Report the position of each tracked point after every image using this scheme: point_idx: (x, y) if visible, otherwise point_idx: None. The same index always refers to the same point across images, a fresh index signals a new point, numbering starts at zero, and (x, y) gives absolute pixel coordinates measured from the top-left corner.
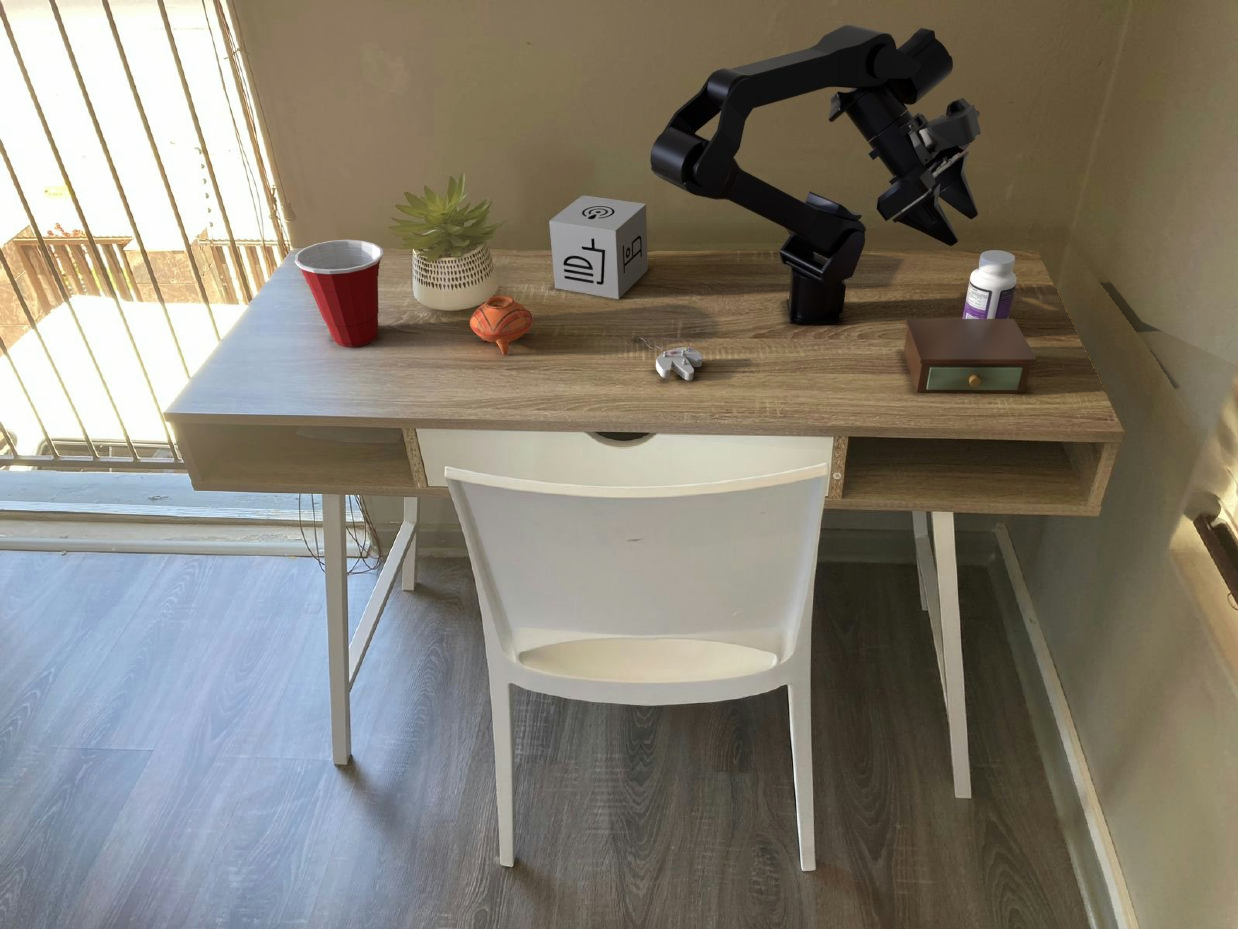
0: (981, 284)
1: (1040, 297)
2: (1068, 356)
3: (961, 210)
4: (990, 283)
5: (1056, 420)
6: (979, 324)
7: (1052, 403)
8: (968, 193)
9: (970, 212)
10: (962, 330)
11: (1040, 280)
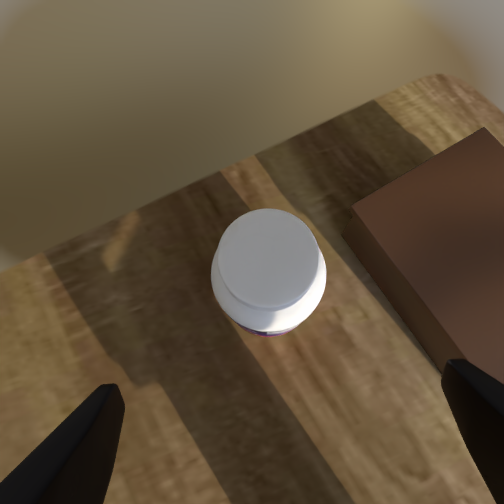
0: (324, 285)
1: (94, 244)
2: (290, 151)
3: (106, 471)
4: (321, 262)
5: (485, 118)
6: (421, 255)
7: (444, 133)
8: (47, 484)
9: (112, 420)
10: (472, 277)
11: (18, 264)
